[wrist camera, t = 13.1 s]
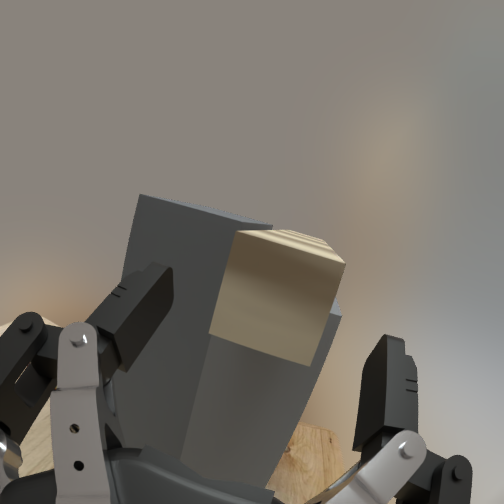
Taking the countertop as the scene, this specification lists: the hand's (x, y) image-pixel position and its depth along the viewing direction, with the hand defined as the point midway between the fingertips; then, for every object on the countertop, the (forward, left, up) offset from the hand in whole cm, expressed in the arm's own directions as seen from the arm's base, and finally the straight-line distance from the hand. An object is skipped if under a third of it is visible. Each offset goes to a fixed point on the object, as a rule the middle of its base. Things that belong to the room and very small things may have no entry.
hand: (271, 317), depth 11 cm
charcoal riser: (-12, +13, -29) cm, 34 cm away
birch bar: (-6, +10, -1) cm, 12 cm away
